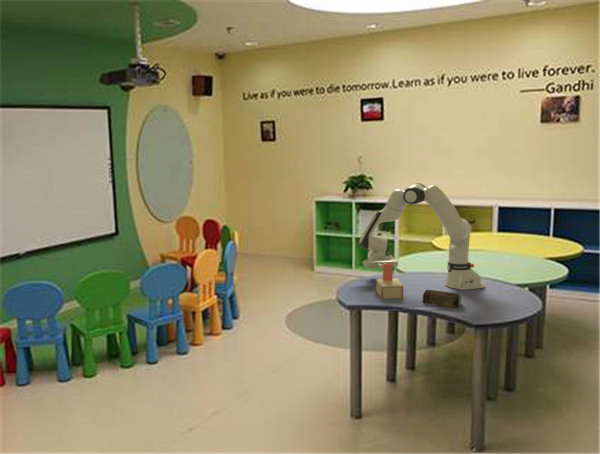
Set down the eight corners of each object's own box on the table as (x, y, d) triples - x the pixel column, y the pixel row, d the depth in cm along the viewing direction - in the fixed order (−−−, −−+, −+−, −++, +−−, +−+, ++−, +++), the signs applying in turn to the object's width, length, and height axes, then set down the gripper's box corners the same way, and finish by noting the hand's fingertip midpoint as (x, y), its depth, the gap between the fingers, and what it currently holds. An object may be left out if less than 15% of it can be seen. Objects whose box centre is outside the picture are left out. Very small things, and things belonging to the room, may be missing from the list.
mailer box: (376, 292, 318) (376, 280, 316) (397, 292, 318) (397, 280, 317) (381, 300, 304) (381, 288, 303) (403, 299, 305) (403, 287, 303)
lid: (376, 280, 316) (376, 263, 314) (397, 279, 317) (397, 262, 315) (381, 287, 302) (381, 270, 301) (403, 286, 303) (403, 269, 301)
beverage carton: (459, 308, 289) (459, 296, 288) (422, 304, 296) (422, 292, 295) (461, 304, 296) (461, 292, 295) (425, 300, 304) (425, 288, 302)
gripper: (361, 256, 338) (365, 262, 324) (394, 255, 339) (400, 260, 325) (361, 266, 339) (365, 272, 325) (394, 265, 340) (400, 271, 327)
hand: (383, 266), depth 325 cm, fingers closed
